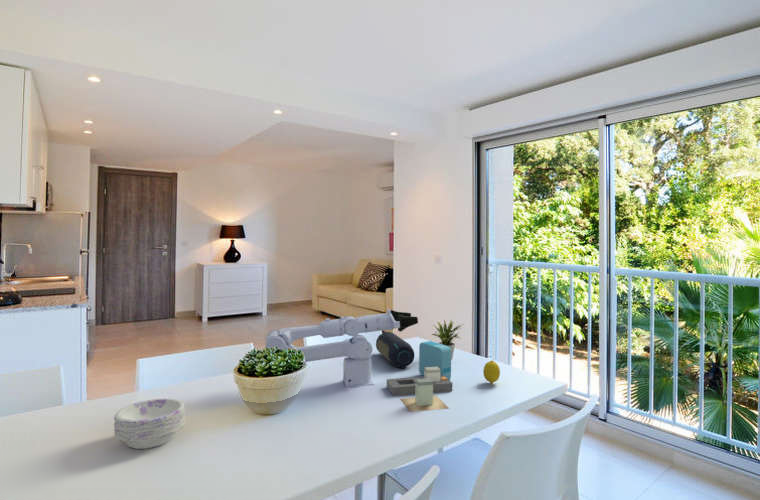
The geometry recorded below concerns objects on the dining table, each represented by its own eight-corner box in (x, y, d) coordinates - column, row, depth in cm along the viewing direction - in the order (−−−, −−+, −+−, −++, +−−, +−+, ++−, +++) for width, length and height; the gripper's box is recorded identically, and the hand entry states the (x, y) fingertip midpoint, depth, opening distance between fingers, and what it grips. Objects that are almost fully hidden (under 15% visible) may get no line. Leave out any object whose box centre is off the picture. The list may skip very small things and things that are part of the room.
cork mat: (409, 413, 123) (409, 411, 123) (400, 400, 133) (400, 398, 133) (449, 409, 126) (449, 408, 126) (436, 397, 136) (436, 395, 136)
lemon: (498, 381, 151) (498, 358, 151) (501, 386, 146) (501, 363, 146) (482, 380, 152) (482, 357, 152) (484, 385, 146) (484, 362, 146)
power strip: (392, 396, 136) (392, 385, 136) (386, 388, 143) (386, 377, 143) (452, 392, 140) (452, 381, 140) (443, 383, 148) (443, 373, 148)
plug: (418, 406, 128) (418, 382, 127) (415, 402, 131) (415, 379, 130) (432, 404, 129) (433, 381, 128) (429, 400, 132) (429, 378, 131)
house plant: (464, 365, 169) (464, 324, 168) (428, 363, 172) (429, 322, 171) (464, 356, 183) (465, 317, 182) (431, 353, 186) (432, 316, 185)
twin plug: (427, 391, 141) (427, 370, 141) (424, 388, 144) (424, 367, 144) (440, 390, 142) (440, 369, 142) (436, 387, 145) (437, 366, 145)
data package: (451, 381, 151) (451, 347, 151) (441, 383, 149) (442, 348, 148) (427, 372, 161) (428, 340, 161) (418, 374, 158) (419, 341, 158)
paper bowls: (167, 421, 117) (167, 392, 116) (196, 438, 107) (196, 407, 107) (104, 442, 105) (104, 409, 105) (129, 463, 95) (129, 427, 95)
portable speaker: (373, 353, 186) (373, 330, 185) (395, 352, 188) (395, 329, 188) (392, 371, 162) (392, 344, 161) (417, 369, 165) (417, 343, 164)
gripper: (380, 315, 142) (419, 310, 145) (371, 307, 156) (407, 303, 159) (382, 336, 142) (421, 330, 145) (372, 327, 156) (408, 322, 159)
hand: (414, 317), depth 152 cm, fingers open, 7 cm apart
